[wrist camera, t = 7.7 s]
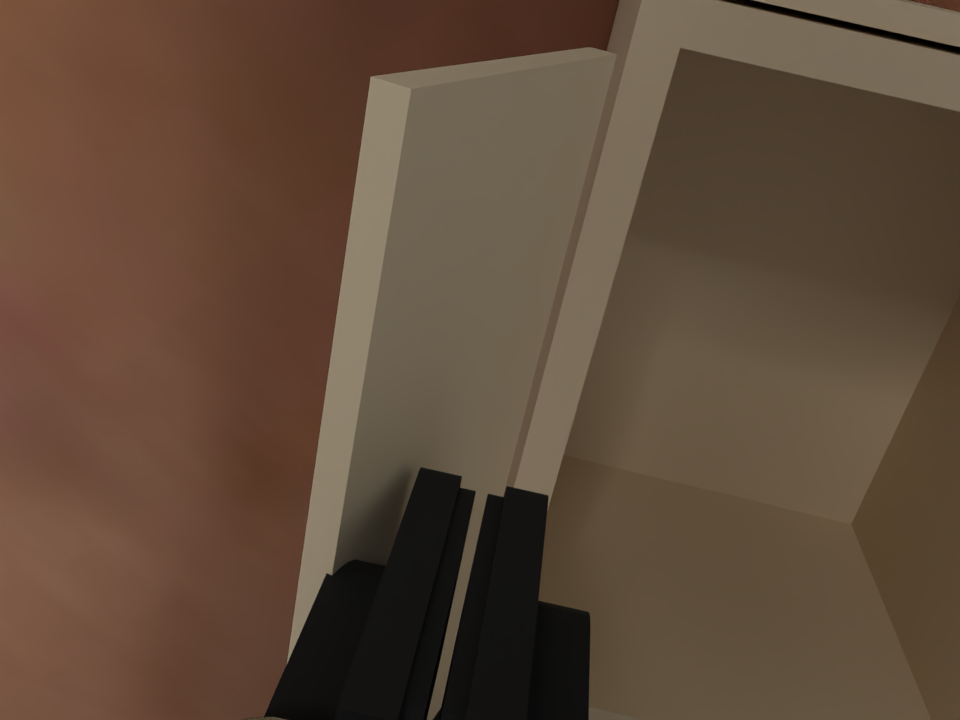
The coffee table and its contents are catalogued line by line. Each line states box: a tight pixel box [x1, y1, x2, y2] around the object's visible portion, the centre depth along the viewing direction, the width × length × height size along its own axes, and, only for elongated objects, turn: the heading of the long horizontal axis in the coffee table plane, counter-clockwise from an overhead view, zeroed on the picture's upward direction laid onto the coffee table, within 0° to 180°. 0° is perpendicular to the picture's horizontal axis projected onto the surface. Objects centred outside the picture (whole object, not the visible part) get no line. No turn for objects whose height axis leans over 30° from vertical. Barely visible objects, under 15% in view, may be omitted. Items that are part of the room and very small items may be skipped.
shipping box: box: [503, 0, 960, 720], centre depth 20 cm, size 15×11×10 cm
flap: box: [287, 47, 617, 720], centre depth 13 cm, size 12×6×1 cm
